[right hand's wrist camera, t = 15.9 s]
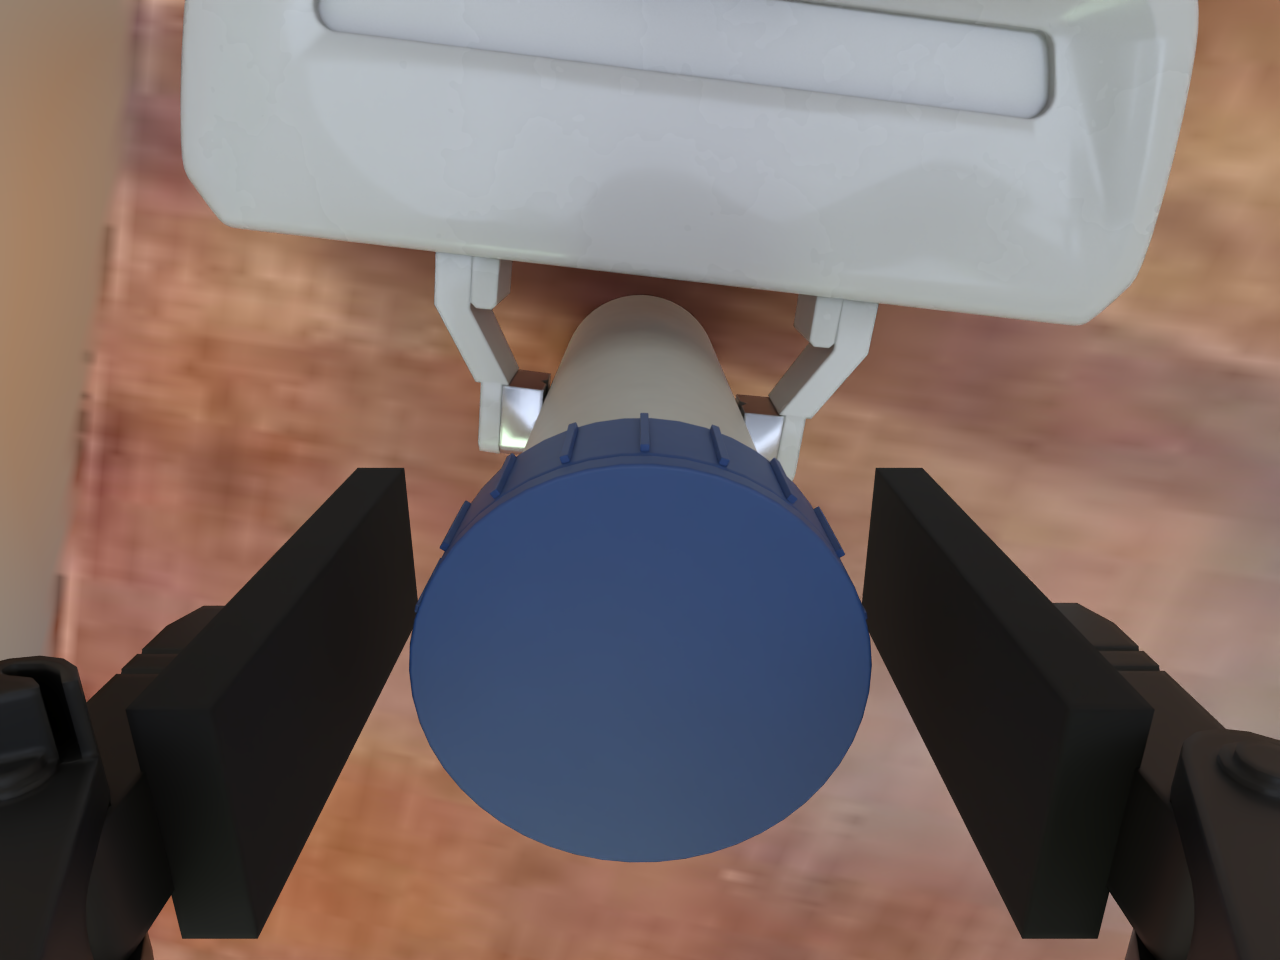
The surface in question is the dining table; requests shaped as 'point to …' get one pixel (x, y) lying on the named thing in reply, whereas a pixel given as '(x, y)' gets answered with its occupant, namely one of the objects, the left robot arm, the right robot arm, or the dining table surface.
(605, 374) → the jar
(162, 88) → the dining table surface
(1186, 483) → the dining table surface
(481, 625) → the lid
